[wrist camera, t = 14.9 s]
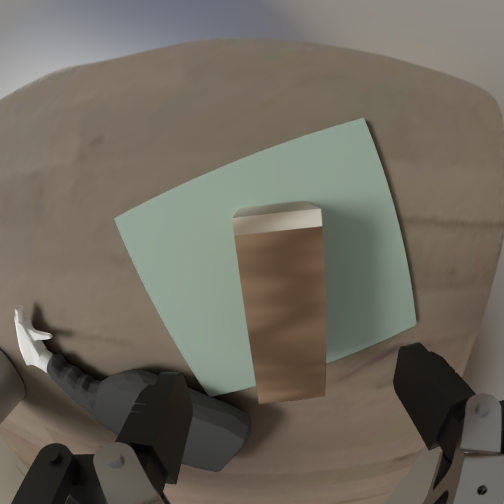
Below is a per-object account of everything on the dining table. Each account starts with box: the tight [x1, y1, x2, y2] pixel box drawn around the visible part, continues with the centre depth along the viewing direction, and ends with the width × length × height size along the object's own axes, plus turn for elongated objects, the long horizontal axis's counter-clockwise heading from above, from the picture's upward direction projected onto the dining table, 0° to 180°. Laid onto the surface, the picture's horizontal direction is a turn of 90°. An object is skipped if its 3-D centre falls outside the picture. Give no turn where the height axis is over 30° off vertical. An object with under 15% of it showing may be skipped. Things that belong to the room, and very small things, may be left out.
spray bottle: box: [15, 305, 251, 472], centre depth 21 cm, size 3×11×24 cm
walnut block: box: [232, 201, 326, 404], centre depth 16 cm, size 4×5×11 cm
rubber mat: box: [114, 118, 417, 397], centre depth 19 cm, size 18×16×1 cm
